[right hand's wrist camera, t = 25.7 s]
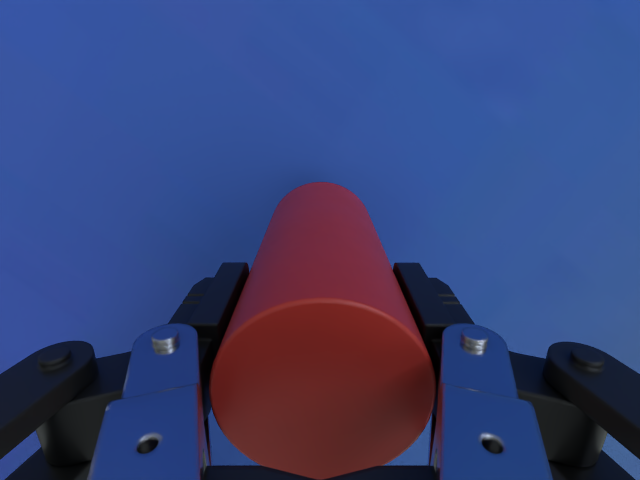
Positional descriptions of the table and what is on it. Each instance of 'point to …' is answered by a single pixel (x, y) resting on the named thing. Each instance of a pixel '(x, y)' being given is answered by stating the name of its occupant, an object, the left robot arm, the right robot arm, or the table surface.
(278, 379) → the cylinder
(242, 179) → the table surface
